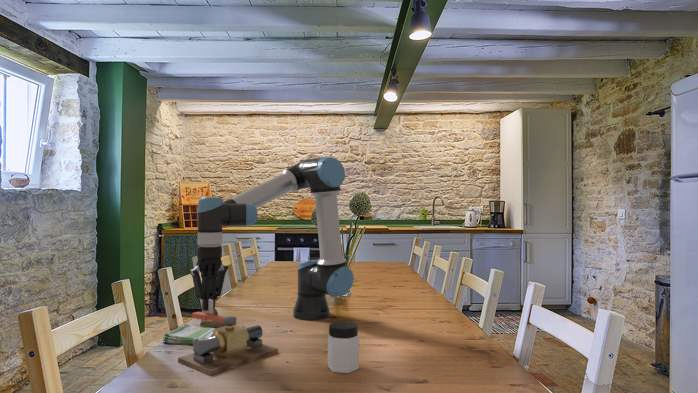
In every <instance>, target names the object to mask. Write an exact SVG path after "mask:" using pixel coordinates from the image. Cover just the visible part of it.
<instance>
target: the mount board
mask: <svg viewBox="0 0 698 393" xmlns="http://www.w3.org/2000/svg"><path fill="white" fill-rule="evenodd" d="M278 351H279V350H278V348H277V347H274V346H270V345H267V344H264V343H262V346H261V347H258V348H252V347H249V346H247V352H246V353H243V354H240V355H237V356H234V357H231V358H228V359H226V358H224V357H221V356H218V355H215V354H213V352H210V354H213V362H210V363H207V364H204V365H203V364H201V363H198V362H196V361H194V352H193V353H190V354H187V355H183V356H180V357H177V362H178V363H180V364H182V365H185V366H187V367H189V368H192V369H194V370H197V371H199V372H201V373H203V374H206V375H209V376H213V375H216V374H219V373H222V372H225V371H227V370H231V369H233V368H236V367H240V366H242V365H243V366H244V365H245V364H247V363H250V362H254V361H257V360H260V359H264V358H265V357H268V356H272V355H274V354H278Z"/></svg>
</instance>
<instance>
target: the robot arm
mask: <svg viewBox="0 0 698 393" xmlns="http://www.w3.org/2000/svg"><path fill="white" fill-rule="evenodd" d="M345 179H346V171H345V168H344V165H343V164H342V162H341V161H340V160H339V159H337V158H335V157H332V156H322V157H316V158H307V159H305V160H302V161H299V162H297V163H296V164H294V165H291V166H290V167H288V168H286V169H283V170H282V172H281V174H280V175H277V176H275V177H272V178H271V179H268V180H267V181H265V182H262V183H260V184H258V185H256V186H253V187H251V188H250V189H247V190H245V191H243V192H241V193H238V194H237V195H234V196H232V197H230V198H228V199H226V200H224V199H223V198H222V197H219V196H216V197H215V196H203V197H200V198H199V199H198V202H197V211H196V212H197V245H198V246H197V248H196V249H197V250H196V257H197V262H196V265H195V267H194V268H191V269H189V273H190V275H191V277H192V282H193V286H194V287H193V288H194V291H195V296H196V299H199V300H201V301H202V304H201V305H202V307H201V308H202V309H201V310H202V311H204V313H211V314H212V315H213V309H216V300H218V297H221V296H222V290H223V286H224V281H225V277H226V273H227V271H228V269H229V266H228V265H225V264H223V260H222V257H223V246H222V244H223V227H247V226H248V227H250V226H253V225H255V224H256V223H257V221H258V218H259V217H258V214H259V213H258V209H257V208H259V207H262V206H264V205H266V204H267V203H270V202H271V201H274V200H276V199H277V198H279V197H282V196H283V195H287V194H289V192H290V193H295V192H297V191H300V190H303V189H310V194H311V195H312V196H313V197H314V198H315V199H314V200H315V213H316V224H317V233H318V235H317V236H318V246H319V259H312V260H311V259H309V260H308V259H307V260H302V261H300V262H299V261H298V262H299V263H298V266H297V298H296V301H295V304H294V306H293V311H292V314H293V315H292V316H293V317H294V318H296V319H297V320H298V319H299V320H304V321H306V320H309V321H310V320H311V321H312V320H316V321H317V320H322V319H326V318H329V317H330V315H331V314H330V313H331V312H330V311H331V310H330V307H329V304H328V300H327V297H326V296H327V295H329V297H330V296H331V297H337V298H338V297H343V296H345V295H347V294H348V293H349V291H351V290H350V289H351V288H352V287H353V284H354V279H355V278H354V277H355V276H354V273H353V270H352V269H351V268H349V266H348V264H347V259H346V258H345V257H344V256H343V251H342V242H341V241H342V240H341V239H342V238H341V228H340V217H339V204H338V195H339V194H340V192H341V185H342V184H343V183H344V181H345ZM206 321H213V320H206Z"/></svg>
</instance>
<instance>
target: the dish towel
mask: <svg viewBox="0 0 698 393" xmlns="http://www.w3.org/2000/svg"><path fill="white" fill-rule="evenodd" d="M213 329H216V328H205V327H201V326H194V325H190V324H183V325H180V326H179V327H178V328H176V329H173V330H171V331H169V332H165V333H163V336H164V338H163V340H162V341H163V342H164V341H165V342H166V343H165V342H164V343H163V342H162V343H163V344H172V343H175V344H176V345H192V346H193V345H194V343H195V342H196V341H200V340H203V339H207V338H210V337H211V335H212V334H213ZM177 343H178V344H177Z"/></svg>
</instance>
